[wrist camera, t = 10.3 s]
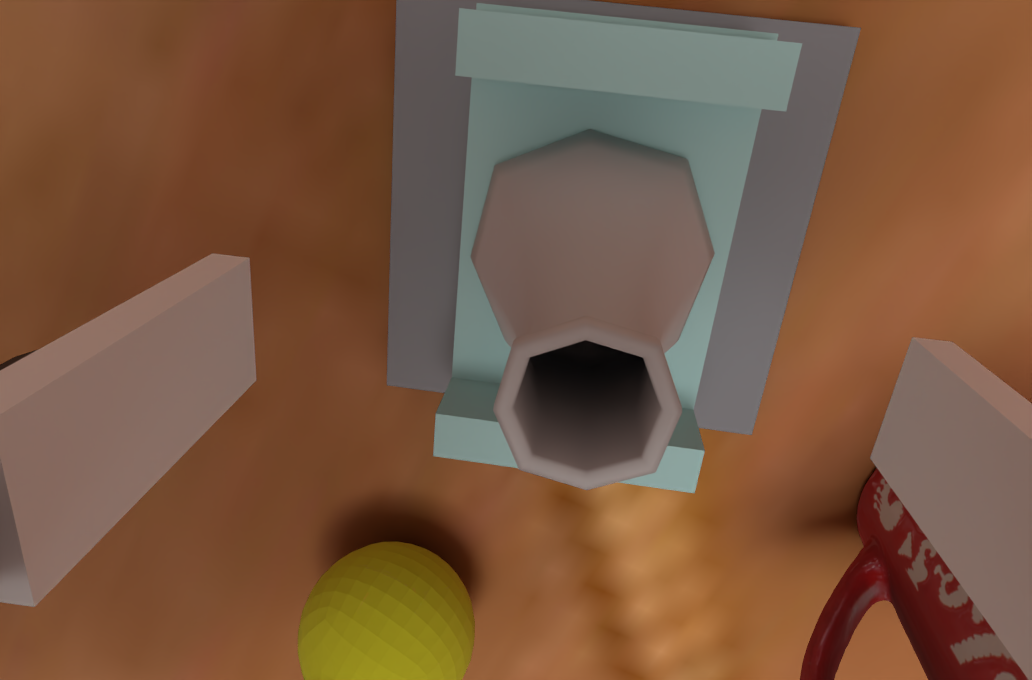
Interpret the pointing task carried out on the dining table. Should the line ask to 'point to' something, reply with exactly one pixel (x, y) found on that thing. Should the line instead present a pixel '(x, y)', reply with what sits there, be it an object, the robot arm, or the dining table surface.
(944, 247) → the dining table surface
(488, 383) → the display stand
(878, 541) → the mug
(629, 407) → the flask
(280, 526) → the dining table surface
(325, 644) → the ornament
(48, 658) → the dining table surface
